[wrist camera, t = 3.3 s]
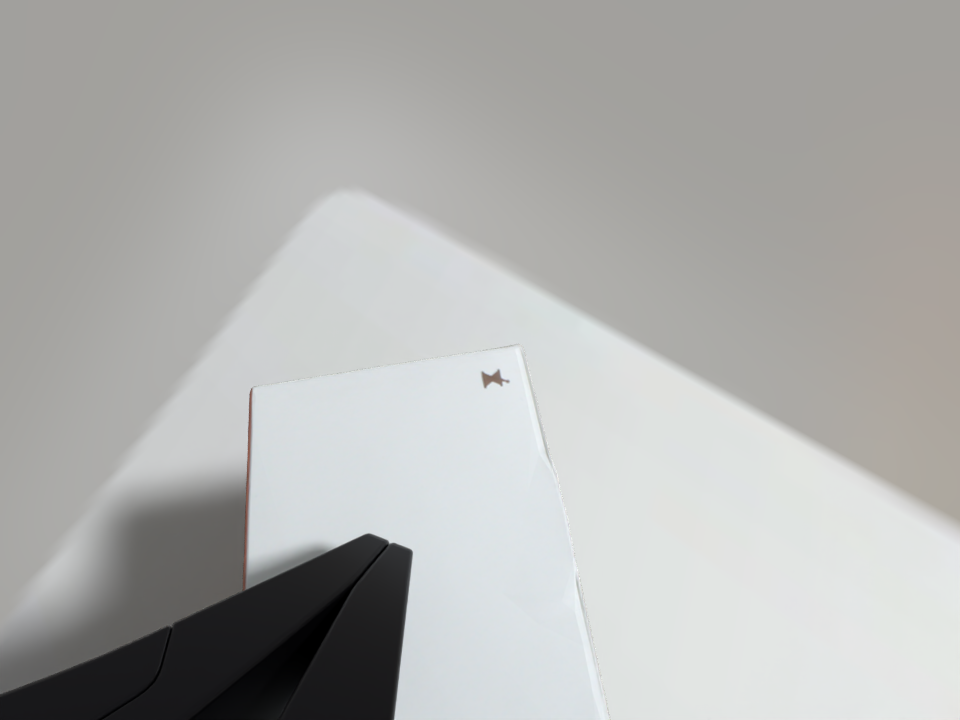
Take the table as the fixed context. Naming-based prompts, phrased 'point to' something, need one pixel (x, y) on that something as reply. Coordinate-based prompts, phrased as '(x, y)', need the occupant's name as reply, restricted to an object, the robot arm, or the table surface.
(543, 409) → the table surface
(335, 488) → the small box
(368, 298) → the table surface
